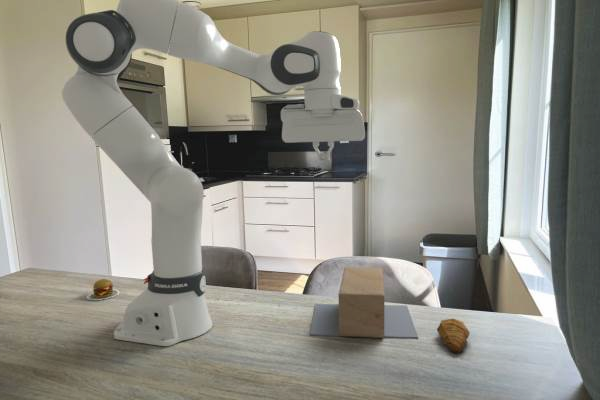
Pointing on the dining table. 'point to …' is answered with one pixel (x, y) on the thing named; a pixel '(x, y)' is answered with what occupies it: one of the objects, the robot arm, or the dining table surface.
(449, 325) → the croissant
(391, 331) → the felt mat
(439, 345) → the dining table surface
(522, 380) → the dining table surface
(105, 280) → the hamburger
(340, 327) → the wooden block
